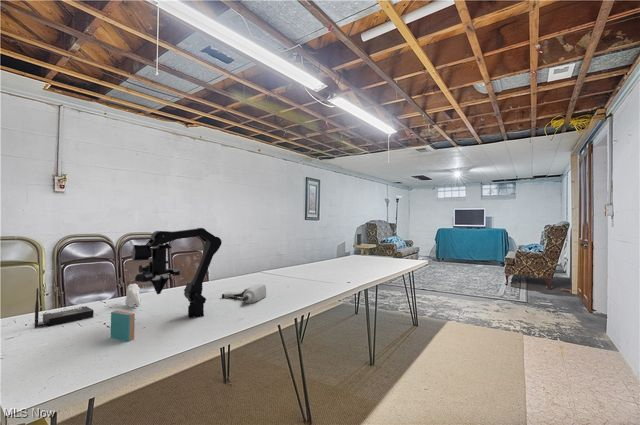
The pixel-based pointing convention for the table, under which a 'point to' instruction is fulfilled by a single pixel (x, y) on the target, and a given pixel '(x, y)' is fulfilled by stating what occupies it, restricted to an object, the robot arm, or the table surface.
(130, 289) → the white dinosaur figurine
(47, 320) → the black l-shaped piece
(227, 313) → the table surface
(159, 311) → the table surface
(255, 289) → the impact wrench
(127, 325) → the tile
